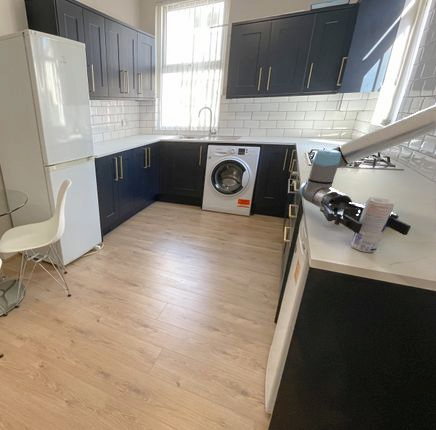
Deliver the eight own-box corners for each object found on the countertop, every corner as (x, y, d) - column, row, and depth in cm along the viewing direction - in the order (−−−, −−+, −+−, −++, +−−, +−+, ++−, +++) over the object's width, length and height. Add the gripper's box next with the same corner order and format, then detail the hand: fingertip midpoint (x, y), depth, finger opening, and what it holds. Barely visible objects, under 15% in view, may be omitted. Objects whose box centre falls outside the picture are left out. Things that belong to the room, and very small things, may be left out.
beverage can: (380, 254, 78) (401, 204, 72) (357, 252, 79) (376, 202, 73) (367, 244, 83) (385, 197, 77) (346, 243, 84) (362, 196, 78)
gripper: (366, 213, 95) (425, 244, 75) (293, 211, 97) (331, 240, 77) (374, 192, 92) (438, 218, 72) (298, 190, 94) (340, 214, 74)
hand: (383, 229), depth 74 cm, fingers open, 11 cm apart
